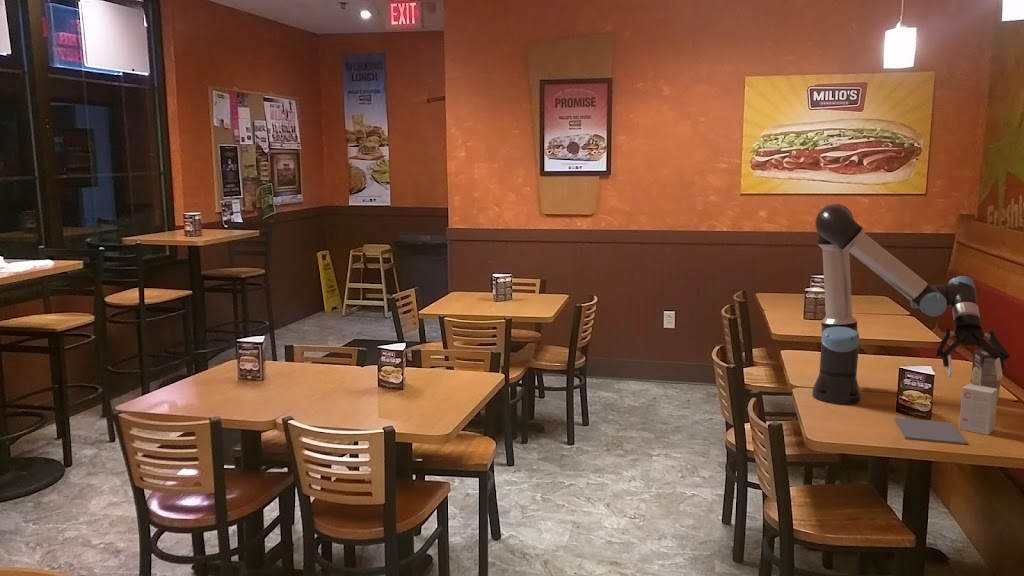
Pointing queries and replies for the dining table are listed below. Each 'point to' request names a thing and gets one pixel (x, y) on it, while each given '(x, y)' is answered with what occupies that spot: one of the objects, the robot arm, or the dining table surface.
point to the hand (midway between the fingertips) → (975, 377)
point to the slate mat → (929, 431)
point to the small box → (978, 409)
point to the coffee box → (984, 371)
